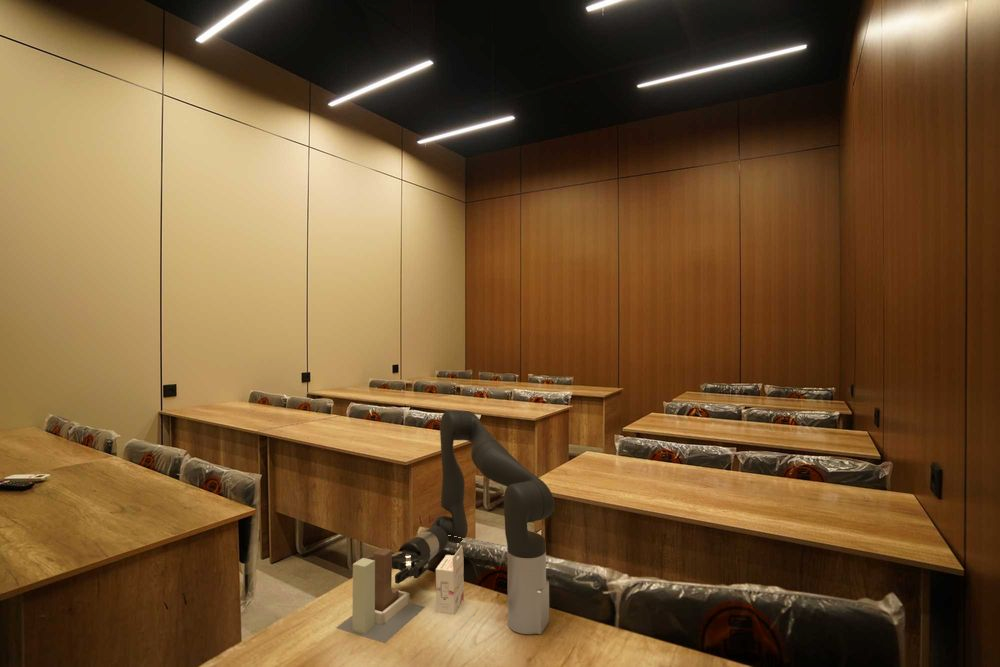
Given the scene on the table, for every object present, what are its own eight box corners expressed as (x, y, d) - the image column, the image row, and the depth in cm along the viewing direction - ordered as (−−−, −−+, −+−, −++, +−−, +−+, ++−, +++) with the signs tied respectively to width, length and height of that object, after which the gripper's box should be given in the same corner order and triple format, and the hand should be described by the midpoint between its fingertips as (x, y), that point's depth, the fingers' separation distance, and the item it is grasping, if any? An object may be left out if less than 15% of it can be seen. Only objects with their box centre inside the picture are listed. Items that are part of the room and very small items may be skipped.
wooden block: (383, 618, 114) (384, 555, 114) (372, 615, 115) (373, 552, 115) (398, 604, 120) (399, 544, 120) (387, 601, 121) (388, 542, 121)
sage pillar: (374, 625, 111) (374, 560, 111) (364, 634, 107) (364, 566, 108) (362, 622, 112) (363, 557, 113) (352, 630, 109) (352, 563, 109)
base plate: (425, 611, 119) (425, 596, 119) (384, 648, 104) (384, 631, 104) (380, 599, 125) (380, 585, 125) (335, 633, 110) (335, 616, 110)
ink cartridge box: (445, 599, 125) (445, 542, 125) (464, 601, 124) (464, 543, 124) (435, 617, 116) (434, 556, 117) (454, 619, 115) (454, 558, 116)
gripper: (398, 532, 134) (359, 555, 119) (441, 540, 128) (406, 566, 113) (398, 559, 134) (358, 585, 119) (442, 569, 128) (406, 598, 113)
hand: (382, 576), depth 116 cm, fingers open, 8 cm apart
